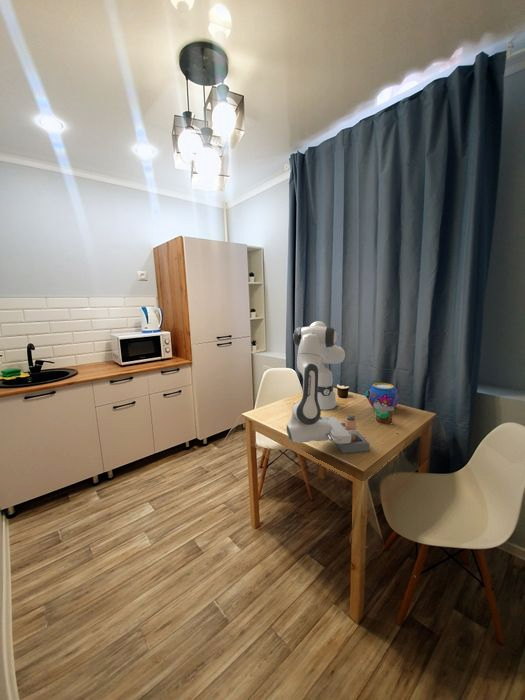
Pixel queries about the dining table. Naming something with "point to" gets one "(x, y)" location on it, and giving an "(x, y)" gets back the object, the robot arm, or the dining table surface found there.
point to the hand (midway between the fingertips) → (352, 427)
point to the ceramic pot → (383, 394)
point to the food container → (383, 412)
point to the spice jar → (351, 425)
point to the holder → (354, 445)
